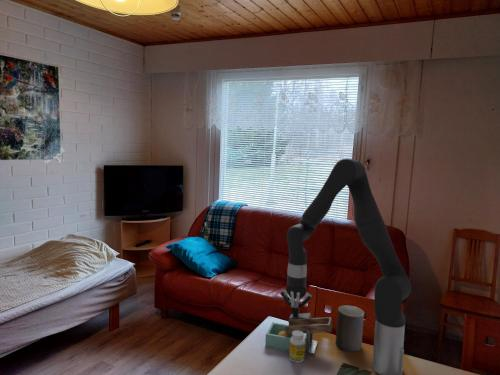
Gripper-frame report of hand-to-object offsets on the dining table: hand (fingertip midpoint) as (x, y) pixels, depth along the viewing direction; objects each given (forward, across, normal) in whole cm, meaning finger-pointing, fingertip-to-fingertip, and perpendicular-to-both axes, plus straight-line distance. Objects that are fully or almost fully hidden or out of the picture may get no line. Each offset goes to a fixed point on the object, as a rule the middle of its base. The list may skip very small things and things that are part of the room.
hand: (294, 315), depth 148 cm
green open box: (+7, +3, +10) cm, 13 cm away
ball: (+4, +2, +10) cm, 11 cm away
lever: (0, -7, +6) cm, 9 cm away
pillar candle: (+7, -22, +2) cm, 23 cm away
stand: (+7, -8, +10) cm, 14 cm away
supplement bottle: (+7, -5, +19) cm, 20 cm away
